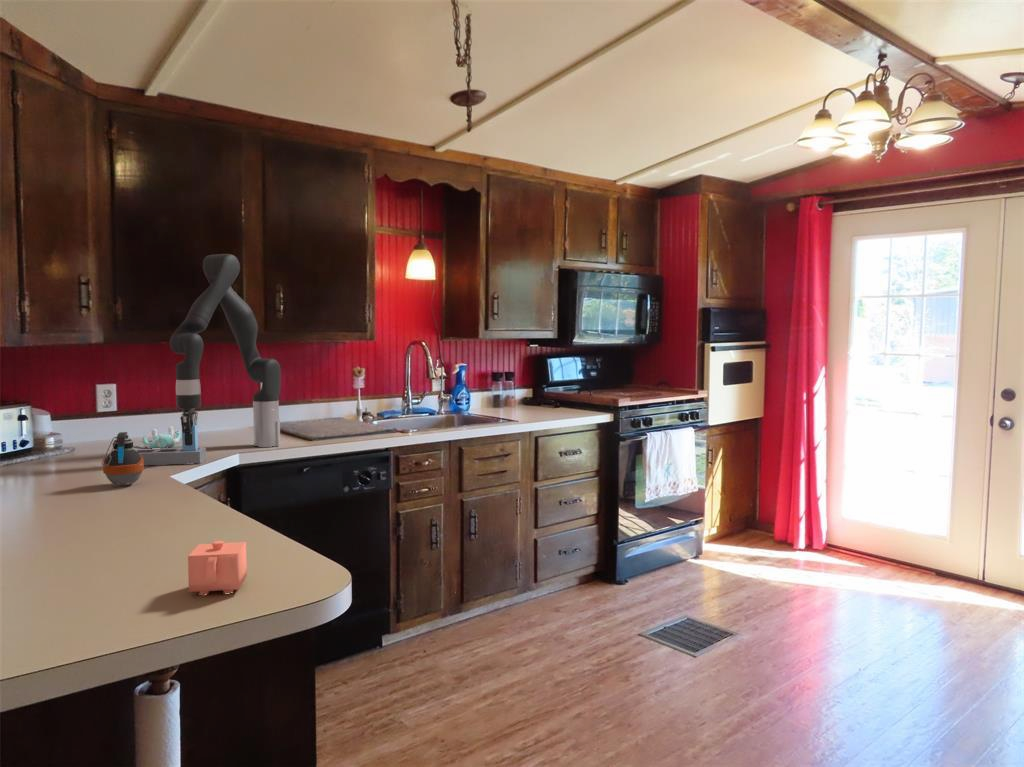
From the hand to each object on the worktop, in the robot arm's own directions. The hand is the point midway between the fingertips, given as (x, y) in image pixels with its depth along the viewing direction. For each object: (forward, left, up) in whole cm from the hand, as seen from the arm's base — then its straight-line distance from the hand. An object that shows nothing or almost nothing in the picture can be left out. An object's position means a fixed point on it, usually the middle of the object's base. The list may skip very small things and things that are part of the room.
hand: (190, 443), depth 237 cm
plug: (0, 0, -5) cm, 5 cm away
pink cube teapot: (-31, +127, -6) cm, 131 cm away
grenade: (+10, +36, -6) cm, 38 cm away
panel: (+7, 0, -6) cm, 9 cm away
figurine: (+18, -38, -6) cm, 43 cm away
